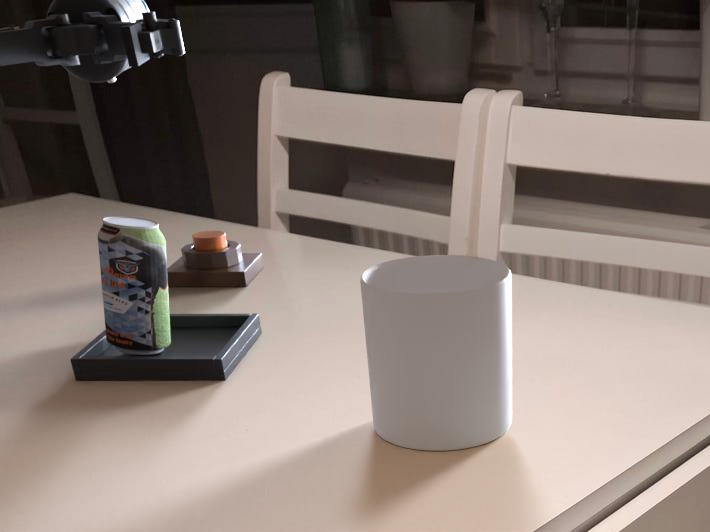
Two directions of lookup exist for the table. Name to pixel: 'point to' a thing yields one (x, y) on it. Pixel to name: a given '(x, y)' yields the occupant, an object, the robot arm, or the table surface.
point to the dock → (176, 351)
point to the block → (214, 267)
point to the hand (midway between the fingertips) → (45, 53)
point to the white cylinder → (439, 350)
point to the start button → (209, 241)
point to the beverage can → (134, 285)
